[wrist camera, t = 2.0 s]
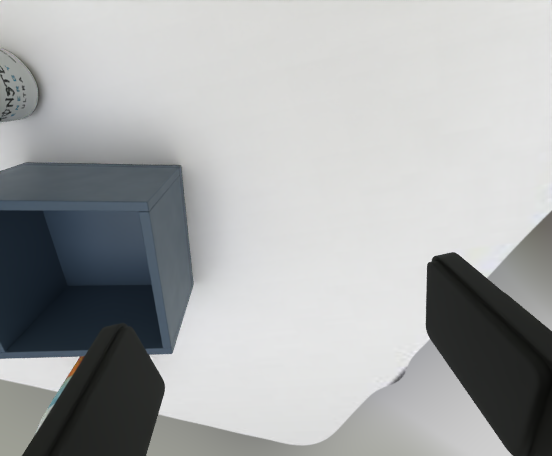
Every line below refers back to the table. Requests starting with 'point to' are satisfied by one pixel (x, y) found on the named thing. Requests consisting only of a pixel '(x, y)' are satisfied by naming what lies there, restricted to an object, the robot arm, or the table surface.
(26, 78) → the energy drink can
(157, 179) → the open storage box
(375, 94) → the table surface
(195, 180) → the table surface
